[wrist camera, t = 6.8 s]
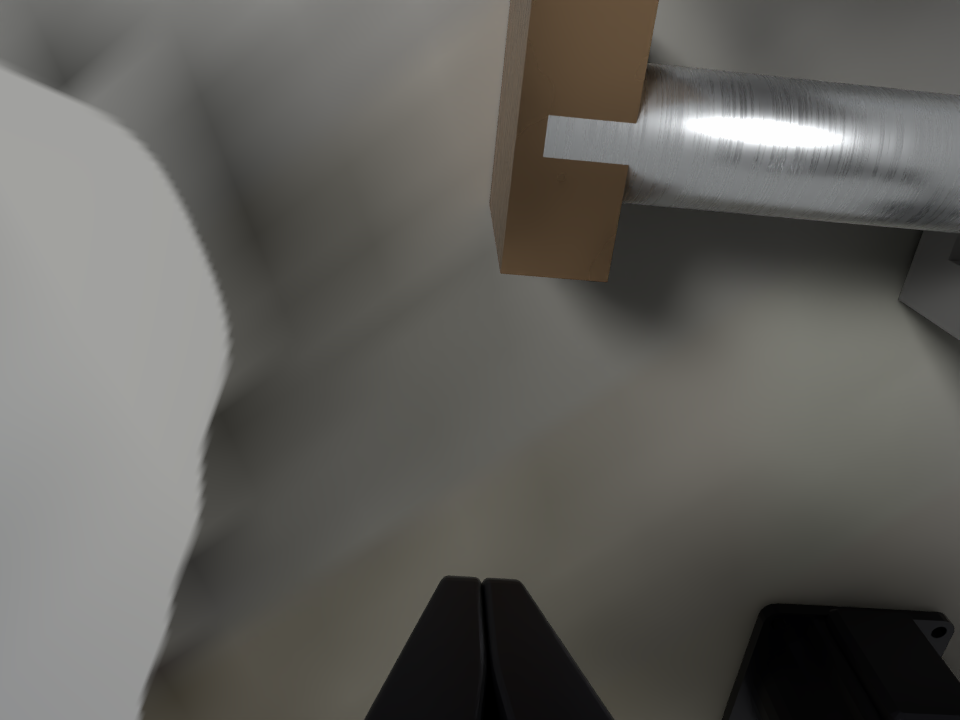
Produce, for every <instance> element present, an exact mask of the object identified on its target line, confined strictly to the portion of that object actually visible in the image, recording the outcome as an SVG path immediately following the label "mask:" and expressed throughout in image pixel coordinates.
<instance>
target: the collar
mask: <svg viewBox="0 0 960 720" xmlns="http://www.w3.org/2000/svg"><path fill="white" fill-rule="evenodd" d="M899 300H900V301H902V302H903V303H905V304H906V305H908V306H909V307H911V308H912V309H914V310H915V311H917V312H918V313H919V314H921V315H922V316H924V317H925V318H927V319H928V320H930V321H931V322H933V323H934V324H936V325H937V326H939V327H940V328H942V329H943V330H945V331H946V332H948V333H949V334H951V335H952V336H954V337H955V338H957V339H958V340H960V233H949V232H938V231H927V230H924V231H923V234H922V236H921V239H920V242H919V245H918V247H917V250H916V253H915V255H914V258H913V261H912V264H911V266H910V269H909V272H908V274H907V277H906V280H905V282H904V285H903V288H902V291H901V293H900V296H899Z"/></svg>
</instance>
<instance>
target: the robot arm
mask: <svg viewBox="0 0 960 720" xmlns="http://www.w3.org/2000/svg"><path fill="white" fill-rule="evenodd" d="M775 619H777V620H775ZM953 633H954V626H953V624H952V623H951V622H950V620H949V619H948V618H947V617H946V616H945V615H944V614H943V613H939V612H926V611H907V610H889V609H870V608H851V607H833V606H814V605H796V604H771V605H768V606H766V607H764V608H763V609H762V610H761V611H760V613H759V615H758V618H757V621H756V624H755V626H754V629H753V632H752V635H751V638H750V641H749V644H748V646H747V649H746V652H745V655H744V658H743V661H742V663H741V666H740V669H739V672H738V675H737V678H736V681H735V683H734V686H733V689H732V692H731V695H730V698H729V701H728V703H727V706H726V709H725V712H724V715H723V718H722V720H960V682H959V681H958V680H957V678H956V677H955V676H954V674H953V673H952V672H951V670H950V669H949V668H948V666H947V665H946V663H945V662H944V661H943V659H942V658H941V656H942V654H943V652H944V650H945V649H946V647H947V645H948V643H949V641H950V639H951V637H952V635H953ZM364 720H614V718H613V717H612V716H611V714H610V713H609V711H608V710H607V708H606V707H605V705H604V704H603V702H602V701H601V699H600V698H599V696H598V695H597V693H596V692H595V690H594V689H593V687H592V686H591V684H590V683H589V681H588V680H587V678H586V677H585V676H584V674H583V673H582V671H581V670H580V668H579V667H578V665H577V664H576V662H575V661H574V659H573V658H572V656H571V655H570V653H569V652H568V650H567V649H566V647H565V646H564V644H563V643H562V641H561V640H560V638H559V637H558V635H557V634H556V633H555V631H554V630H553V628H552V627H551V625H550V624H549V622H548V621H547V619H546V618H545V616H544V615H543V613H542V612H541V610H540V609H539V607H538V606H537V604H536V603H535V601H534V600H533V598H532V597H531V595H530V594H529V592H528V591H527V590H526V588H525V587H524V585H523V584H522V583H521V582H520V581H518V580H516V579H501V578H486V579H485V580H484V581H483V582H482V584H481V582H480V580H479V579H478V578H476V577H465V576H446V577H444V578H443V579H442V580H441V581H440V583H439V585H438V586H437V588H436V590H435V592H434V594H433V595H432V597H431V599H430V601H429V603H428V605H427V606H426V608H425V610H424V612H423V614H422V615H421V617H420V619H419V621H418V623H417V625H416V626H415V628H414V630H413V632H412V634H411V635H410V637H409V639H408V641H407V643H406V645H405V646H404V648H403V650H402V652H401V654H400V655H399V657H398V659H397V661H396V663H395V664H394V666H393V668H392V670H391V672H390V674H389V675H388V677H387V679H386V681H385V683H384V684H383V686H382V688H381V690H380V692H379V694H378V695H377V697H376V699H375V701H374V703H373V704H372V706H371V708H370V710H369V712H368V714H367V715H366V717H365V719H364Z"/></svg>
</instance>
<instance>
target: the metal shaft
mask: <svg viewBox="0 0 960 720" xmlns="http://www.w3.org/2000/svg"><path fill="white" fill-rule="evenodd" d="M658 2H659V0H510V9H509V19H508V29H507V38H506V48H505V58H504V67H503V77H502V87H501V97H500V106H499V116H498V126H497V136H496V145H495V155H494V165H493V174H492V184H491V194H490V210H491V217H492V223H493V229H494V235H495V242H496V248H497V254H498V261H499V267H500V273H501V274H513V275H526V276H538V277H550V278H562V279H574V280H586V281H598V282H608V276H609V271H610V265H611V260H612V254H613V249H614V243H615V238H616V232H617V227H618V221H619V216H620V210H621V205H622V203H628V204H639V205H650V206H661V207H672V208H683V209H694V210H705V211H716V212H727V213H738V214H750V215H761V216H772V217H783V218H794V219H805V220H816V221H827V222H838V223H849V224H860V225H871V226H882V227H894V228H905V229H916V230H927V231H938V232H949V233H960V95H952V94H943V93H933V92H924V91H914V90H904V89H895V88H885V87H875V86H866V85H856V84H846V83H837V82H827V81H817V80H808V79H798V78H788V77H779V76H769V75H759V74H750V73H740V72H730V71H721V70H711V69H701V68H692V67H682V66H672V65H663V64H653V63H647V62H648V57H649V51H650V46H651V40H652V35H653V29H654V24H655V18H656V13H657V7H658Z"/></svg>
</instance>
